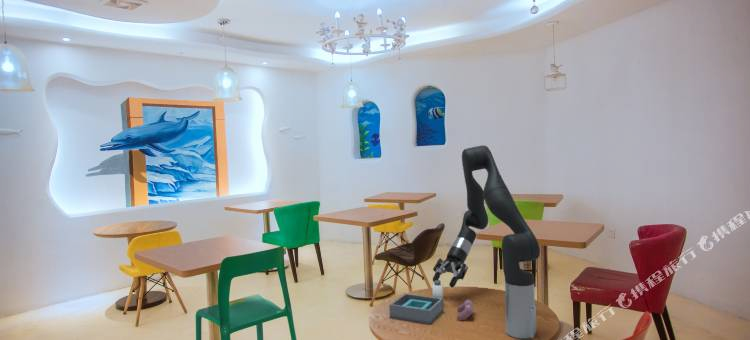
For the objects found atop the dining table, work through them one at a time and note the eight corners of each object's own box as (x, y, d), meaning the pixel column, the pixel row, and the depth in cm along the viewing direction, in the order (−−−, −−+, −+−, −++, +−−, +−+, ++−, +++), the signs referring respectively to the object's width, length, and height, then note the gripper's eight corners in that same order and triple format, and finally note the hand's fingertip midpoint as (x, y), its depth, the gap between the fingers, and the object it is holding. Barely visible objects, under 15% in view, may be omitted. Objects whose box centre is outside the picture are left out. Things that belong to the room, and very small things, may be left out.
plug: (444, 304, 176) (443, 280, 176) (441, 308, 173) (440, 282, 172) (435, 303, 178) (434, 279, 178) (431, 306, 175) (430, 281, 174)
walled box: (443, 311, 169) (443, 298, 169) (430, 324, 157) (429, 310, 157) (405, 305, 177) (404, 293, 177) (389, 317, 165) (389, 304, 164)
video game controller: (467, 325, 159) (476, 308, 158) (455, 319, 160) (464, 302, 159) (467, 315, 169) (475, 299, 168) (456, 309, 169) (464, 294, 168)
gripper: (441, 243, 188) (424, 275, 181) (469, 248, 177) (452, 282, 170) (450, 253, 192) (433, 285, 184) (477, 258, 181) (461, 293, 174)
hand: (442, 284), depth 177 cm, fingers open, 8 cm apart
